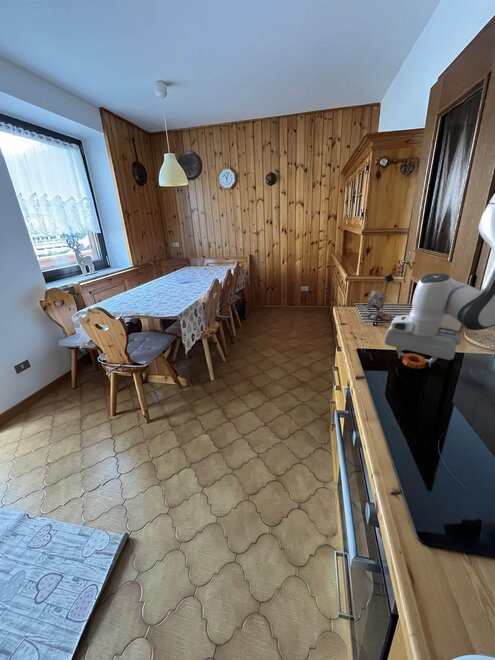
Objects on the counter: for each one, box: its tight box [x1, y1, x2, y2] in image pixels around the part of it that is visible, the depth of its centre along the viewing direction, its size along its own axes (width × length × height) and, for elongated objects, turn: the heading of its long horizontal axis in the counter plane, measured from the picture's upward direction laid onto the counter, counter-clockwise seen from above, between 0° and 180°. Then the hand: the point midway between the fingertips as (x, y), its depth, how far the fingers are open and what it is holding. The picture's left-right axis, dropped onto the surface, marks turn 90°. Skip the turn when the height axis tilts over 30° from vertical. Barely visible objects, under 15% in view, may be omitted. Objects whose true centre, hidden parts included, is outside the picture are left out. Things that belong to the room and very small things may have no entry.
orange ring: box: [401, 353, 427, 370], centre depth 95 cm, size 7×7×2 cm
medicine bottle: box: [440, 315, 462, 332], centre depth 114 cm, size 7×7×12 cm
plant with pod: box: [363, 272, 395, 321], centre depth 124 cm, size 8×11×20 cm
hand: (413, 361), depth 95 cm, fingers closed on orange ring, 7 cm apart
